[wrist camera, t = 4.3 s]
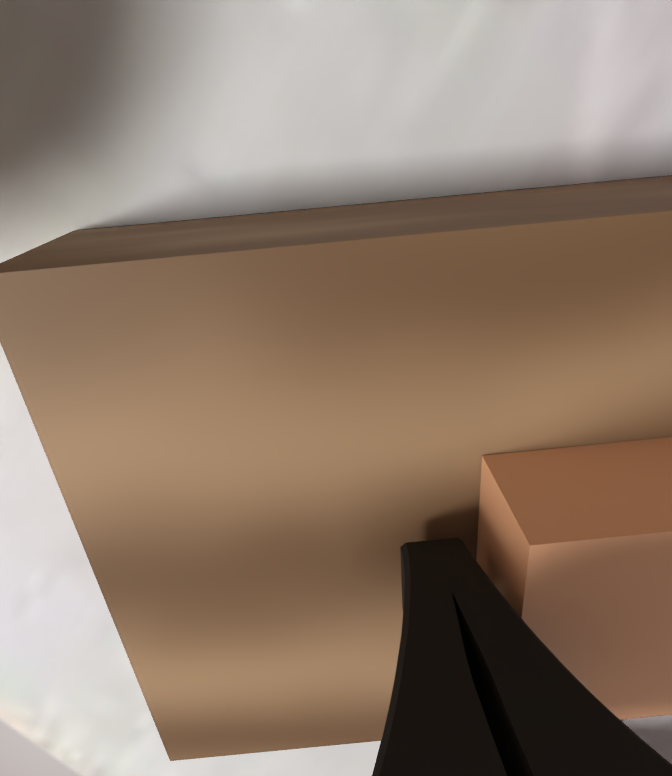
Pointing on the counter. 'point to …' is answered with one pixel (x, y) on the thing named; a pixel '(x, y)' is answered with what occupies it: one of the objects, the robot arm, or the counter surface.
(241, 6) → the counter surface
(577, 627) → the tile
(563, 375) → the dark wood platform
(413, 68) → the counter surface
